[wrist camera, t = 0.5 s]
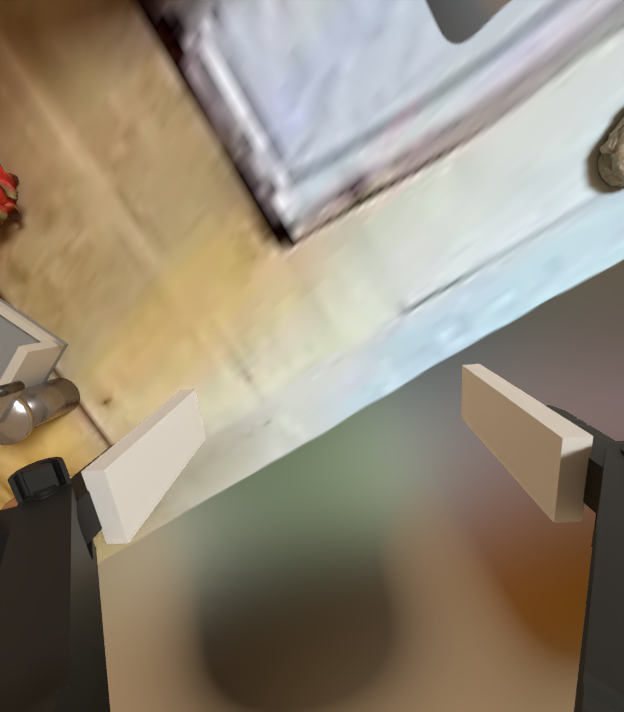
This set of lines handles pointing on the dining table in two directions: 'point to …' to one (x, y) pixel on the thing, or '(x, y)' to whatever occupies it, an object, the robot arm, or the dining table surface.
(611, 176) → the elongated rock
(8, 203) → the dragon fruit
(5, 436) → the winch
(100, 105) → the dining table surface
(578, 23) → the dining table surface
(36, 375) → the bay
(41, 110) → the dining table surface
